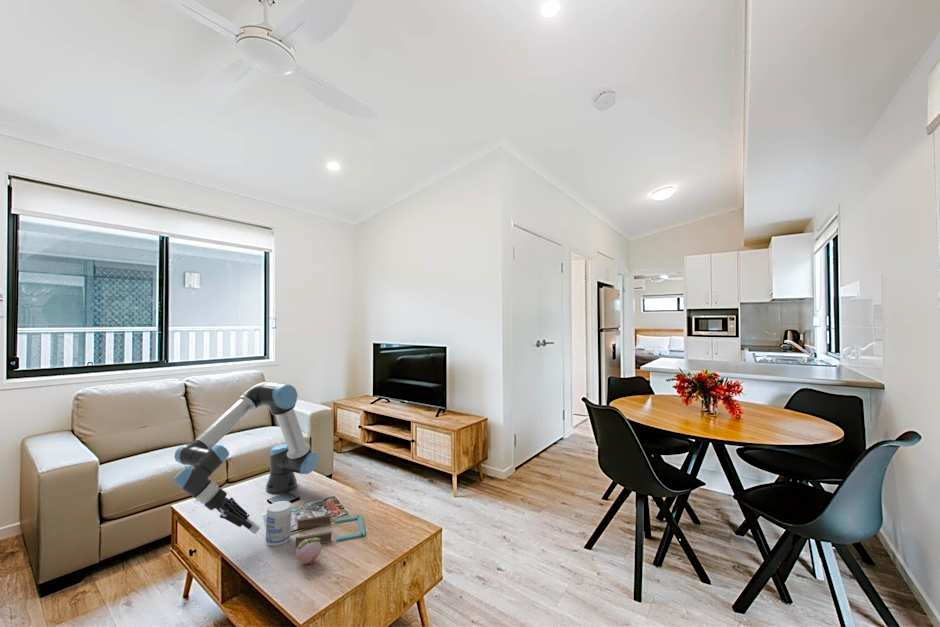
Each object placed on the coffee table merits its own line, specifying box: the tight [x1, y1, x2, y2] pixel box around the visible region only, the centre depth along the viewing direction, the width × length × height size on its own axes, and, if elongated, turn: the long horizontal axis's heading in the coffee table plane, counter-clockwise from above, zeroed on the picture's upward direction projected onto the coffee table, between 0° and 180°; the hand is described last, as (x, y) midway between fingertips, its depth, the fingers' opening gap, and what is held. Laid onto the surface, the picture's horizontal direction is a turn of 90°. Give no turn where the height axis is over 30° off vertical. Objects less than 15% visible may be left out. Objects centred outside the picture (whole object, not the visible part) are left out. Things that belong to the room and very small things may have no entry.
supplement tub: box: [265, 500, 293, 547], centre depth 165 cm, size 10×10×15 cm
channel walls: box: [294, 514, 333, 549], centre depth 171 cm, size 16×14×4 cm
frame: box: [334, 514, 366, 542], centre depth 176 cm, size 17×12×1 cm
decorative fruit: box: [295, 537, 322, 565], centre depth 151 cm, size 9×8×10 cm
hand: (257, 530), depth 162 cm, fingers closed
